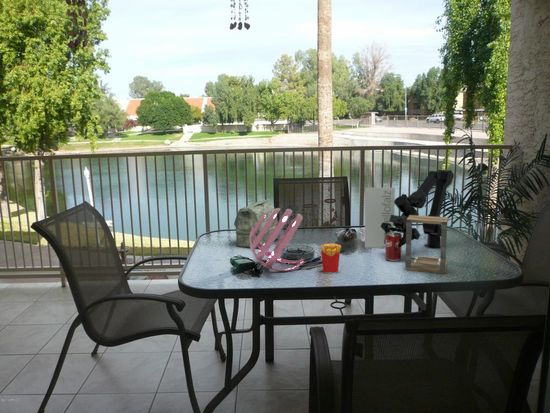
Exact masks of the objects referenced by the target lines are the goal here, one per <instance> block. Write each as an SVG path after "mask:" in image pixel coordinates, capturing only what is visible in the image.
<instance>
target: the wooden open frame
mask: <svg viewBox="0 0 550 413" xmlns="http://www.w3.org/2000/svg"><path fill="white" fill-rule="evenodd" d="M413 223H415V224H423V223H428V224H442V225H441V226H442V230H441V236H440V239H441V241H440V245H441V247H440V257H435V256H434V257H433V256H422V255H417V256H415V257H412V240H411V239H412V228H413V225H412V224H413ZM448 223H449V217H448V216H440V217H433V216H428V215H419V216H414V215H409V217H408V218H407V219H406V244H405V263H404V265H405V269H404V270H405V271H411V272H421V273H422V272H423V273H431V274H432V273H433V274H441V275H442V274H443V275H446V271H447V266H448V260H447V243H448V242H447V239H448V237H447V236H448Z"/></svg>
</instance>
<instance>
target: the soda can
mask: <svg viewBox="0 0 550 413" xmlns="http://www.w3.org/2000/svg"><path fill="white" fill-rule="evenodd" d="M402 237H403V234H402V233H400V232H395V231H394V232H388V233H386V235H385V248H384V250H385V251H384V254H385V255H384V257H385V259H386V260H387V261H389V262H391V261H392V262H398V261H400V260H402V256H403V255H402V251H403V249H402V247H403V246H402V247H400V248H398V245H399V243H400V241H401V239H402Z"/></svg>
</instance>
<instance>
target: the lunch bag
mask: <svg viewBox="0 0 550 413" xmlns="http://www.w3.org/2000/svg"><path fill="white" fill-rule="evenodd" d="M275 209H276V208H275V207H274V205H273V203H272V202H271V201H269V200H268V199H262V200H261V199H259V200H258V201H256V202H254V203H252V204H250V205H248V206H244V207H241V208H240V209H238V212H237V213H236V214H237V215H236V216H235V219H234V222H233V226H235V236H236V241H235V242H236V243H235V244H236V246H238V247H242V248H250V240H249V236H250V231H251V229H252V228H253V227H254V228H255V226H256V224H257V223H258V221H259V220H260V218H261V217H262V215H263V214H264V213H265V212H267V211H269V212H268V214H267V216H266V217H265V219H264V220H263V222H262V223H261V225H260V226H259V228H258V230H257V231H256V233H255V236H256V237H257V236H258V234H259V233H260V231H261V230H262V228H263V227H264V225H265V224H266V222H267V220H268V219H269V217H270V216H271V214H272V213H273V211H274V210H275ZM278 219H279V218H278V215H277V216H276V217H275V219H274V220H273V222H272V224H271V225H270V227H269V228H268V230H267V231H266V233H265V234H264V236H263V237H262V239H261V241H260V244H261V245H263V244H264V243H265V241H266V240H267V238H268V237H269V235H270V233H271V232H272V230H273V229H274V227H275V226H276V224H277V223H278V221H279V220H278ZM279 237H280V234H279V235H278V236H277V238H276V239H275V240H277V239H279ZM253 242H254V239H253V237H252V244H253ZM255 249H259V248H258V247H256V248H255Z"/></svg>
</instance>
